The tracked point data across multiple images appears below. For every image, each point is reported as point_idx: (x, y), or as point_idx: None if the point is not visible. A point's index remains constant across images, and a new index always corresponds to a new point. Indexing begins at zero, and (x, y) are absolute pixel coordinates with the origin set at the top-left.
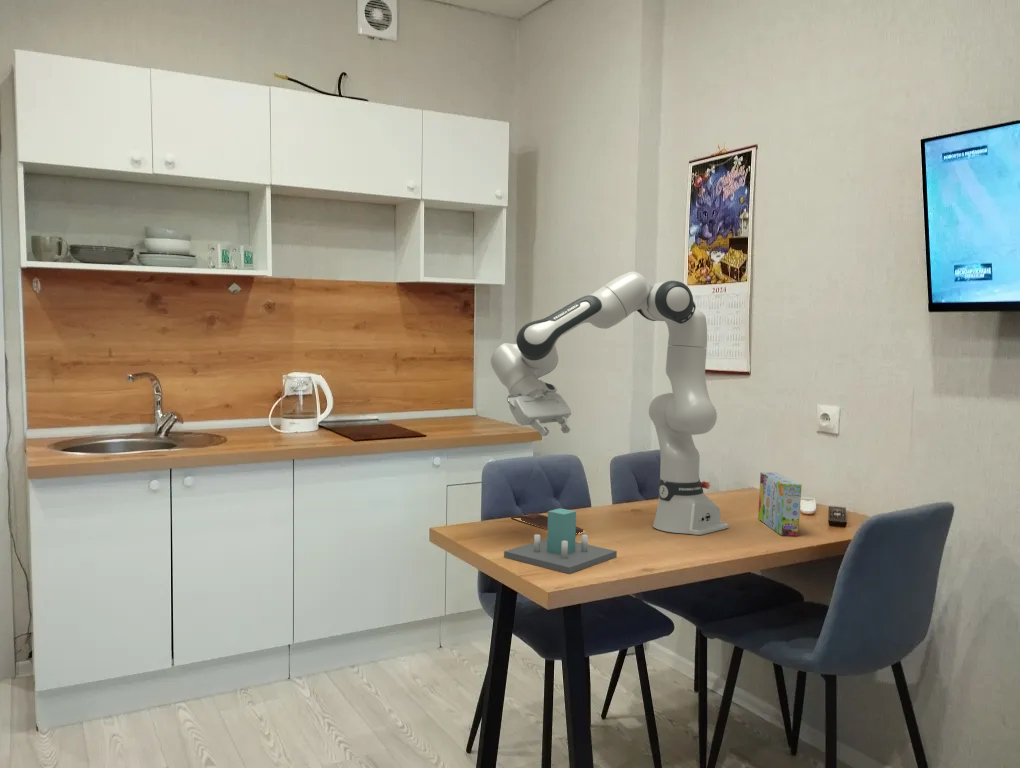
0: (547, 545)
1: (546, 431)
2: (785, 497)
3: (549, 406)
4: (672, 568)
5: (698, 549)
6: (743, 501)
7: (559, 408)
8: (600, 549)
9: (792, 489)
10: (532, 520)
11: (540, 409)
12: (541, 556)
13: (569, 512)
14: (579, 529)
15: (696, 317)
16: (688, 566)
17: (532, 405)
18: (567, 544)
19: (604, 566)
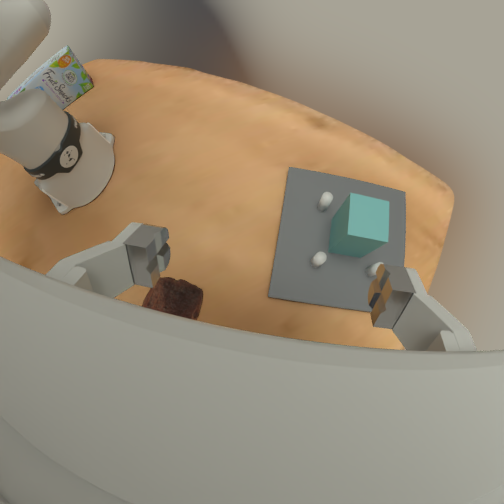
0: (363, 255)
1: (407, 268)
2: (74, 59)
3: (99, 434)
4: (292, 104)
5: (183, 109)
6: None
7: (4, 321)
8: (296, 189)
9: (70, 51)
10: None
11: (401, 438)
12: (389, 249)
13: (368, 199)
14: (160, 293)
15: None
16: (271, 94)
17: (482, 492)
18: None
19: (343, 169)
